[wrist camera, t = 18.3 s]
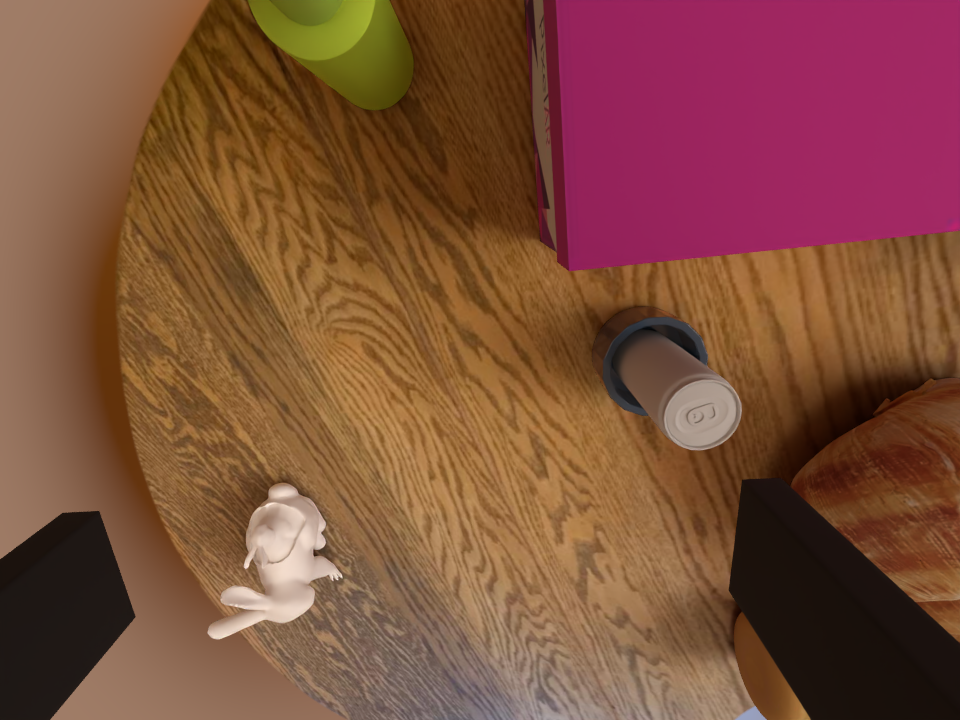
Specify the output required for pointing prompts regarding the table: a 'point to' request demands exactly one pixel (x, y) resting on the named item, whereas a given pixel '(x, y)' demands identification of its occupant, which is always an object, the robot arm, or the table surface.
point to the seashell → (900, 494)
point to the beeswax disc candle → (764, 676)
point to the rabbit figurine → (279, 562)
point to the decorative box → (741, 125)
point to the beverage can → (677, 390)
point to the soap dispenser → (343, 45)
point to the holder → (621, 329)
